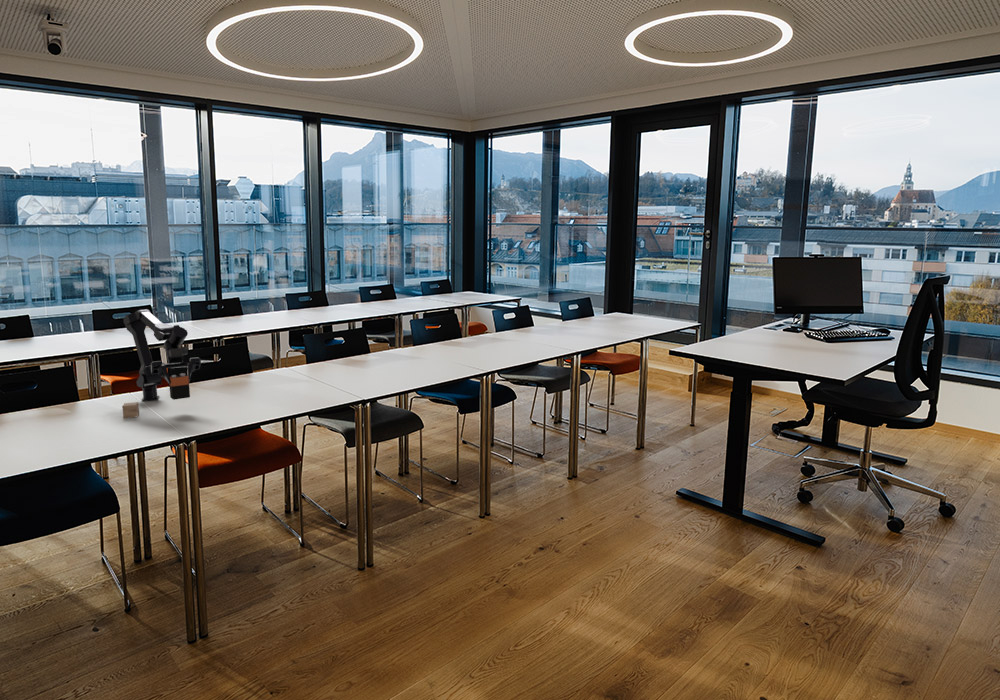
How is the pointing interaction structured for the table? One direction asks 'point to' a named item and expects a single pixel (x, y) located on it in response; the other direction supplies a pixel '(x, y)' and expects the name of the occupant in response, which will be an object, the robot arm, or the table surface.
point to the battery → (179, 386)
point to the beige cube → (130, 409)
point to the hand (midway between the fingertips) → (179, 382)
